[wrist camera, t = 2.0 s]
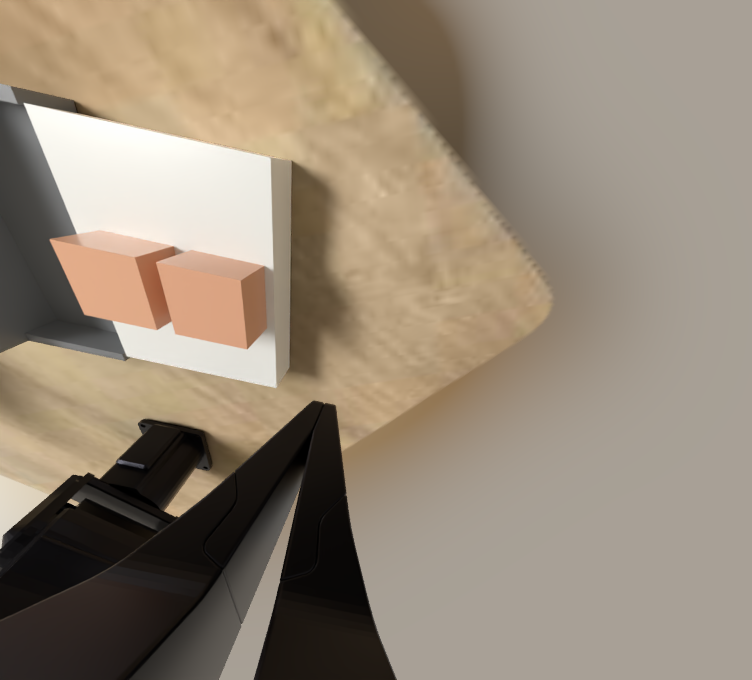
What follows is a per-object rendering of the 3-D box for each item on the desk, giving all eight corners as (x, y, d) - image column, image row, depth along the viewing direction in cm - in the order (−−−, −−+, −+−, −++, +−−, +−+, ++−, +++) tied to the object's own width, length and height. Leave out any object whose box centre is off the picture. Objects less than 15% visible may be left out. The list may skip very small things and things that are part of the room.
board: (289, 367, 21) (276, 388, 19) (154, 338, 21) (126, 356, 19) (291, 160, 14) (270, 157, 12) (83, 114, 14) (23, 102, 12)
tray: (152, 342, 21) (90, 383, 17) (58, 322, 21) (-28, 358, 17) (73, 100, 13) (-82, 65, 9) (-79, 66, 13) (-306, 15, 9)
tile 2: (188, 311, 16) (157, 330, 14) (124, 297, 16) (84, 314, 14) (173, 245, 14) (134, 257, 12) (100, 230, 14) (49, 238, 12)
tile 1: (267, 328, 16) (247, 349, 14) (204, 314, 16) (175, 334, 14) (264, 265, 14) (240, 280, 12) (191, 250, 14) (155, 262, 12)
